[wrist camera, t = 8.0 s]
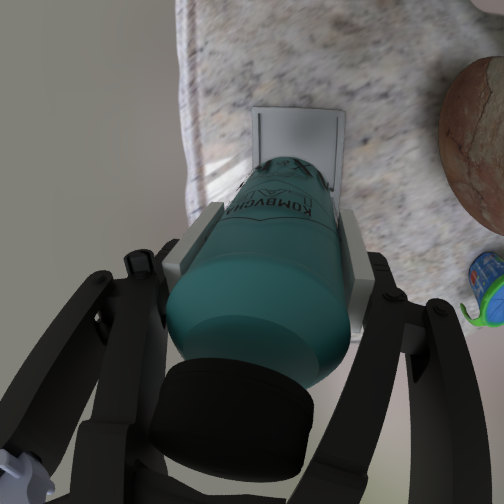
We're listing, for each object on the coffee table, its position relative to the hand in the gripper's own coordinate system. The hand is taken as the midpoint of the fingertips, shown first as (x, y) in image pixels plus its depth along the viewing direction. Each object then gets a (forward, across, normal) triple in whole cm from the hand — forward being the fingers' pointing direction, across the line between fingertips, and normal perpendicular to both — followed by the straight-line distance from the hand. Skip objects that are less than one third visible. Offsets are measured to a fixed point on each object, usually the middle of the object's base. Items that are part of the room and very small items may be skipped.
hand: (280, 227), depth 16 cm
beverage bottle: (+7, 0, 0) cm, 7 cm away
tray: (+24, 0, -5) cm, 25 cm away
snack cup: (+25, +36, -16) cm, 47 cm away
